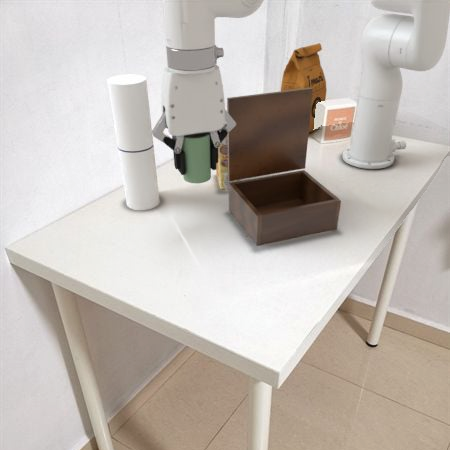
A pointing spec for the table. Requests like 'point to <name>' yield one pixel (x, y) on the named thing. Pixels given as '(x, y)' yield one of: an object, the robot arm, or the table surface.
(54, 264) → the table surface
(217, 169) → the candy box
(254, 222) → the chest
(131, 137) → the cylindrical container
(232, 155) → the chest lid
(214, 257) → the table surface
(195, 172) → the pencil cup
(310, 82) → the coffee package
